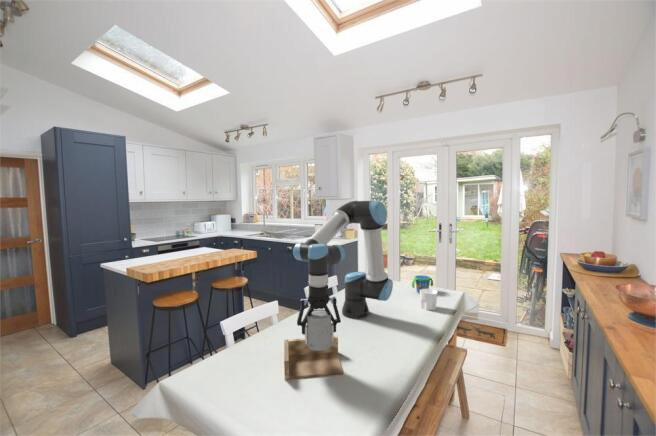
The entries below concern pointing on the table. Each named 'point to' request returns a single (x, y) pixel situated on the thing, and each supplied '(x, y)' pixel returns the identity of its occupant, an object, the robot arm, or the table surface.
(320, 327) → the beer can
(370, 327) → the table surface
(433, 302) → the cup
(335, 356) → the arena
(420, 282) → the snack cup
